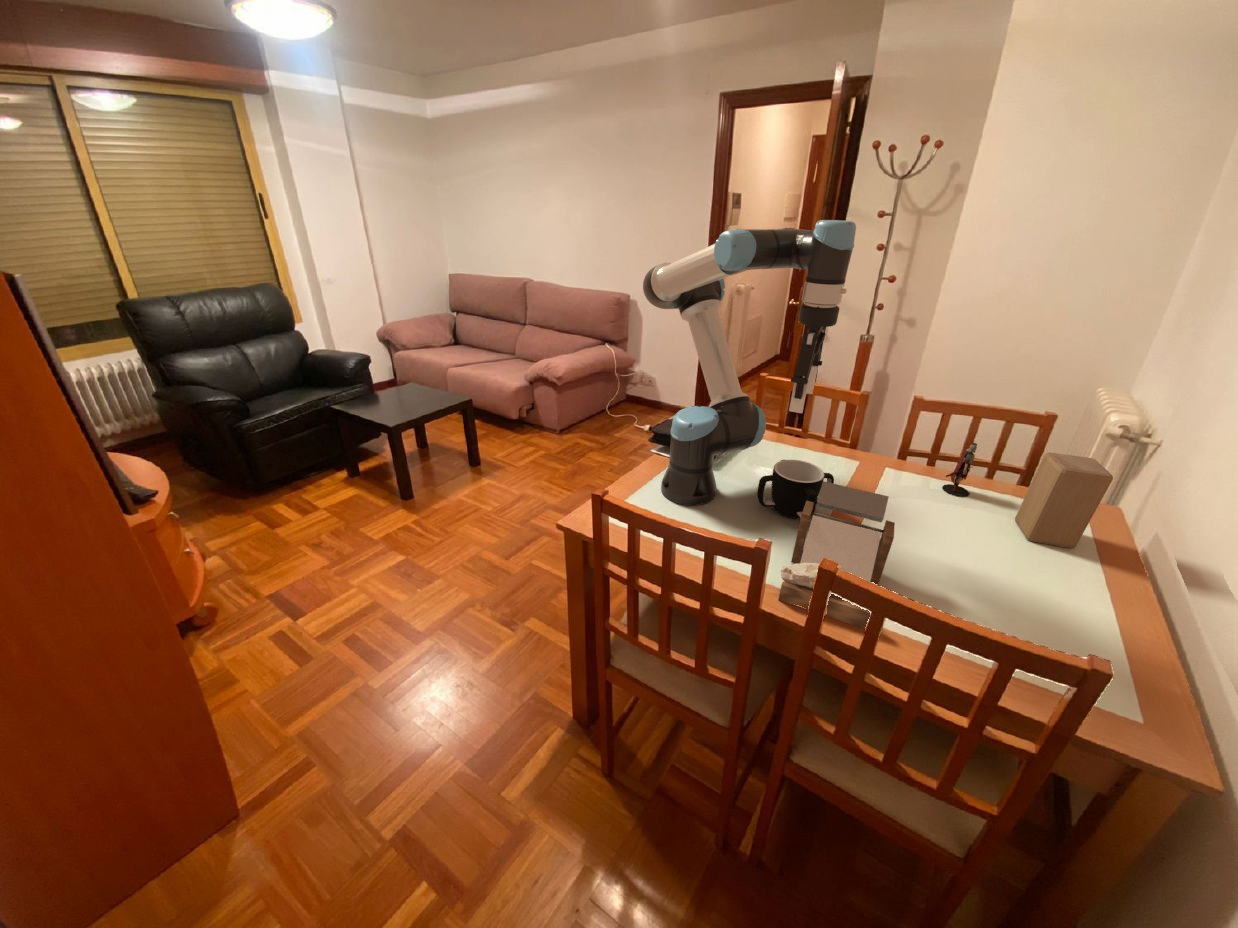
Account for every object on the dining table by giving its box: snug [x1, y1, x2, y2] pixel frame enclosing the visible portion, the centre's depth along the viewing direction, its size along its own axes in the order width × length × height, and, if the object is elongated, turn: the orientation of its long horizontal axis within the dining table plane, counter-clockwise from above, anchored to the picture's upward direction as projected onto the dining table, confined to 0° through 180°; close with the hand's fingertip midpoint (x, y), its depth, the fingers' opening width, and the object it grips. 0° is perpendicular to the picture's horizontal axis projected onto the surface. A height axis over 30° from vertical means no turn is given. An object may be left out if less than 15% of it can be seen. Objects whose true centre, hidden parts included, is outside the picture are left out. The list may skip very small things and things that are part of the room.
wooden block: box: [1014, 452, 1114, 549], centre depth 118 cm, size 10×10×20 cm
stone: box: [780, 562, 844, 601], centre depth 99 cm, size 8×12×10 cm
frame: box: [777, 501, 895, 630], centre depth 102 cm, size 18×20×13 cm
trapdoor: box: [799, 480, 889, 582], centre depth 105 cm, size 13×19×3 cm
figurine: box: [941, 442, 978, 498], centre depth 137 cm, size 7×7×15 cm
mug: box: [756, 459, 835, 521], centre depth 128 cm, size 16×16×12 cm
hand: (801, 402), depth 112 cm, fingers open, 13 cm apart
